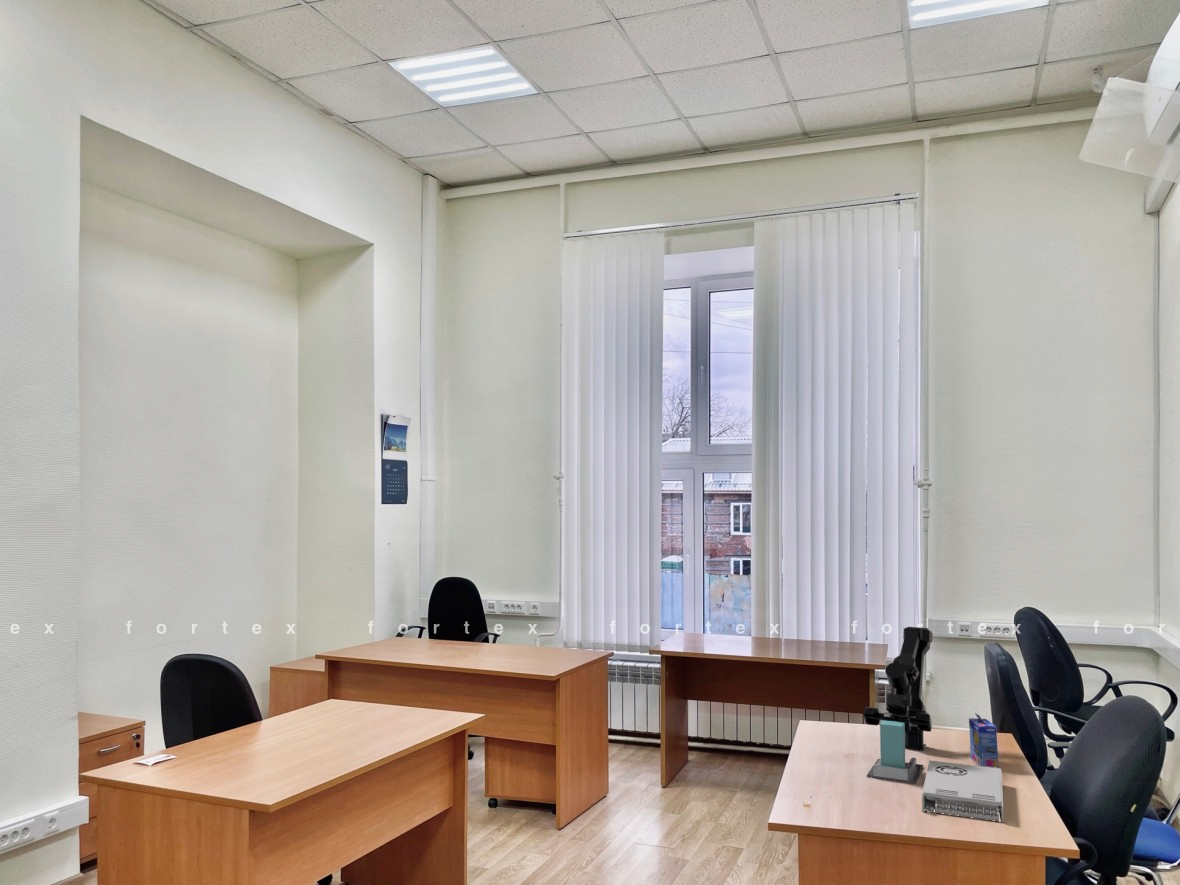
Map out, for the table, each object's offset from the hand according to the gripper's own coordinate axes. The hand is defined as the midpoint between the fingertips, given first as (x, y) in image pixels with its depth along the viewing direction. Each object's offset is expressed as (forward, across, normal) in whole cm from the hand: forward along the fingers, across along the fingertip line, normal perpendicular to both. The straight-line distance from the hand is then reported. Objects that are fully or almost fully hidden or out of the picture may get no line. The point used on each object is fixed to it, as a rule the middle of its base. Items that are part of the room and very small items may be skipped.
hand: (894, 744), depth 259 cm
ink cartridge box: (-11, +22, +23) cm, 33 cm away
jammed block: (+8, 0, +4) cm, 9 cm away
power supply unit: (+16, +20, -3) cm, 26 cm away
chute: (+5, 0, +7) cm, 8 cm away
